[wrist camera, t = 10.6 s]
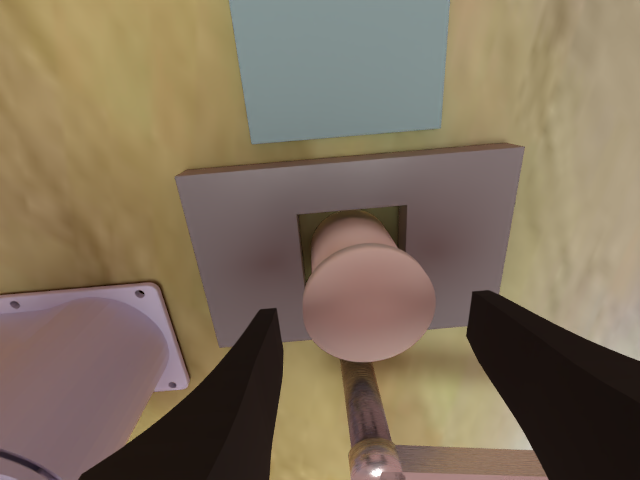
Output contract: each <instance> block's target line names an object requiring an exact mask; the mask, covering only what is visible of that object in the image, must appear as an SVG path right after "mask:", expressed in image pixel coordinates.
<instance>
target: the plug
mask: <svg viewBox="0 0 640 480" xmlns="http://www.w3.org/2000/svg"><path fill="white" fill-rule="evenodd" d="M311 263H312V274H311V275H310V277H309V279H308V281H307V283H306V286H305V289H304V293H303V320H304V325H305V327H306V330H307V332H308V334H309V336H310V337H311V338H312V340H313V341H314V342H315V343H316V344H317V345H318V346H319V347H320V348H321V349H323V350H324V351H325V352H327V353H329V354H331V355H332V356H335V357H337V358H340V359H343V360H347V361H353V362H373V361H379V360H384V359H387V358H390V357H393V356H395V355H398V354H400V353H402V352H403V351H405V350H407V349H408V348H410V347H411V346H412V345H414V344H415V343H416V342H417V341H418V340H419V339H420V338H421V337H422V336H423V335H424V333H425V332H426V330H427V329H428V327H429V326H430V323H431V321H432V319H433V316H434V313H435V307H436V297H435V291H434V288H433V285H432V283H431V281H430V279H429V277H428V276H427V274H426V273H425V271H424V270H423V268H422V267H421V266H420V264H419V263H418V262H417V261H416V260H415V259H414V258H413V257H412V256H410V255H409V254H408V253H406V252H404V251H402V250H401V249H398V248H397V246H396V244H395V243H394V241H393V240H392V238H391V236H390V235H389V233H388V232H387V230H386V228H385V227H384V225H383V224H382V223H381V221H380V220H379V219H378V218H376V217H375V216H374V215H372V214H370V213H368V212H365V211H361V210H343V211H339V212H336V213H334V214H332V215H330V216H328V217H327V218H326V219H324V220H323V221H322V222H321V223H320V225H319V226H318V227H317V229H316V230H315V232H314V235H313V237H312V241H311Z"/></svg>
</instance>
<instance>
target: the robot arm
mask: <svg viewBox="0 0 640 480" xmlns="http://www.w3.org/2000/svg"><path fill="white" fill-rule="evenodd" d="M138 290H141V291H143V292H144V294H141V293H140V292H139V291H138ZM17 302H18V303H17ZM466 336H467V339H468V341H469V343H470V345H471V347H472V349H473V351H474V353H475V356H476V358H477V360H478V361H479V363H480V365H481V366H482V368H483V369H484V371H485V372H486V374H487V376H488V377H489V379H490V380H491V382H492V383H493V385H494V386H495V388H496V389H497V391H498V392H499V394H500V395H501V397H502V398H503V400H504V402H505V403H506V405H507V406H508V408H509V409H510V411H511V412H512V414H513V415H514V417H515V418H516V420H517V422H518V423H519V425H520V427H521V428H522V430H523V432H524V433H525V435H526V437H527V439H528V441H529V443H530V445H531V446H532V448H533V450H534V452H535V454H536V456H537V458H538V460H539V462H540V463H541V465H542V467H543V469H544V471H545V473H546V475H547V477H548V479H549V480H640V361H638V360H635V359H633V358H630V357H627V356H625V355H622V354H620V353H618V352H615V351H613V350H610V349H608V348H605V347H603V346H601V345H598V344H596V343H594V342H591V341H589V340H587V339H585V338H583V337H580V336H578V335H576V334H574V333H572V332H570V331H568V330H566V329H564V328H562V327H560V326H558V325H556V324H554V323H552V322H550V321H548V320H546V319H544V318H542V317H540V316H538V315H536V314H534V313H533V312H531V311H529V310H527V309H525V308H523V307H521V306H519V305H518V304H516V303H514V302H512V301H510V300H508V299H506V298H504V297H503V296H501V295H499V294H497V293H494V292H492V291H490V290H483V291H472V297H471V305H470V312H469V319H468V327H467V334H466ZM282 376H283V345H282V339H281V332H280V326H279V320H278V313H277V308H269V309H260V310H259V311H258V312H257V314H256V315H255V317H254V318H253V319H252V321H251V322H250V324H249V325H248V327H247V328H246V330H245V331H244V332H243V334H242V335H241V336H240V338H239V339H238V340H237V342H236V343H235V344H234V346H233V347H232V348H231V350H230V351H229V352H228V353H227V354H226V356H225V357H224V358H223V359H222V360H221V361H220V363H219V364H218V365H217V366H216V367H215V368H214V370H213V371H212V372H211V373H210V374H209V375H208V376H207V377H206V378H205V379H204V380H203V381H202V382H201V383H200V384H199V385H198V386H197V387H196V388H195V389H194V390H193V391H192V392H191V393H190V394H189V395H188V396H187V397H186V398H184V399H183V400H182V401H181V402H180V403H179V404H178V405H176V406H175V407H174V408H173V409H172V410H171V411H169V412H168V413H167V414H166V415H165V416H164V417H162V418H161V419H160V420H158V421H157V422H156V423H155V424H153V425H152V426H151V427H150V428H148V429H147V430H146V431H144V432H143V433H142V434H140V435H139V436H137V437H136V438H135V439H133V440H132V441H131V442H129V443H128V444H126V443H127V441H128V439H129V437H130V435H131V433H132V431H133V429H134V428H135V426H136V424H137V422H138V420H139V418H140V416H141V414H142V412H143V410H144V409H145V407H146V405H147V403H148V401H149V399H150V397H151V395H152V393H153V392H158V391H169V390H181V389H185V388H187V387H188V385H189V382H190V379H189V376H188V373H187V370H186V367H185V364H184V361H183V358H182V355H181V352H180V348H179V345H178V342H177V339H176V336H175V333H174V330H173V327H172V324H171V321H170V318H169V315H168V312H167V309H166V306H165V303H164V300H163V297H162V293H161V290H160V288H159V286H157V285H156V284H154V283H150V282H148V283H136V284H124V285H113V286H101V287H90V288H78V289H66V290H55V291H43V292H32V293H20V294H8V295H0V480H269V475H270V460H271V449H272V441H273V434H274V428H275V421H276V415H277V409H278V403H279V396H280V390H281V383H282ZM173 382H174V383H173Z"/></svg>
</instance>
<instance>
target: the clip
mask: <svg viewBox="0 0 640 480" xmlns="http://www.w3.org/2000/svg"><path fill="white" fill-rule="evenodd" d="M348 458H349V466H350V475H351V480H549V479H548V477H547V475H546V473H545V471H544V469H543V467H542V465H541V463H540V462H539V460H538V458H537V456H536V454H535V452H534V450H510V449H484V448H459V447H433V446H408V445H395V444H394V443H393V442H391V441H390V440H387V439H383V438H370V439H365V440H362V441H360V442H358V443H357V444H355V445H354V446H353V447H352V448H351V449H350V451H349V455H348Z"/></svg>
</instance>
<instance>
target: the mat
mask: <svg viewBox="0 0 640 480" xmlns="http://www.w3.org/2000/svg"><path fill="white" fill-rule="evenodd" d="M229 4H230V10H231V16H232V23H233V29H234V35H235V42H236V48H237V54H238V61H239V67H240V73H241V80H242V86H243V92H244V99H245V105H246V111H247V118H248V124H249V130H250V137H251V143H252V144H261V143H273V142H285V141H297V140H308V139H320V138H332V137H344V136H356V135H367V134H379V133H391V132H403V131H415V130H427V129H438V128H441V118H442V104H443V90H444V76H445V62H446V48H447V35H448V21H449V7H450V0H229Z"/></svg>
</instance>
